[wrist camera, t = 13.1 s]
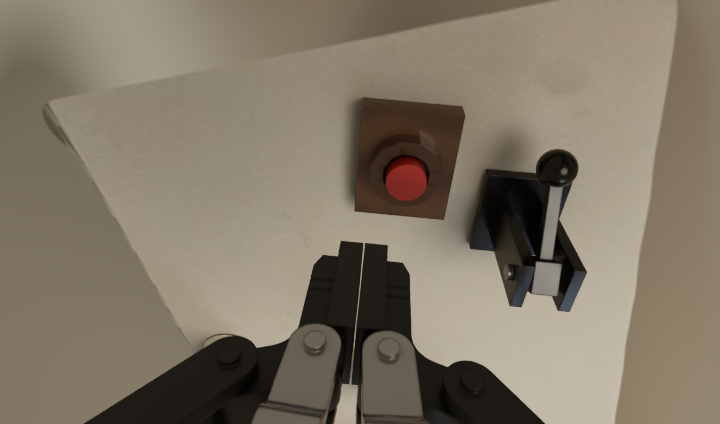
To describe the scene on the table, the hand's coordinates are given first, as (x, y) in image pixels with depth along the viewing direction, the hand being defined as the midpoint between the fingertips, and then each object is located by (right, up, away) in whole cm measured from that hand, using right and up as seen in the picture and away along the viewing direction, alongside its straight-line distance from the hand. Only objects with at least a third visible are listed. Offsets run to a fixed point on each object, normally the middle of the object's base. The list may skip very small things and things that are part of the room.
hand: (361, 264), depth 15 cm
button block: (+4, +7, +30) cm, 31 cm away
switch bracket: (+16, +2, +32) cm, 36 cm away
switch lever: (+16, +1, +25) cm, 29 cm away
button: (+4, +5, +27) cm, 27 cm away
